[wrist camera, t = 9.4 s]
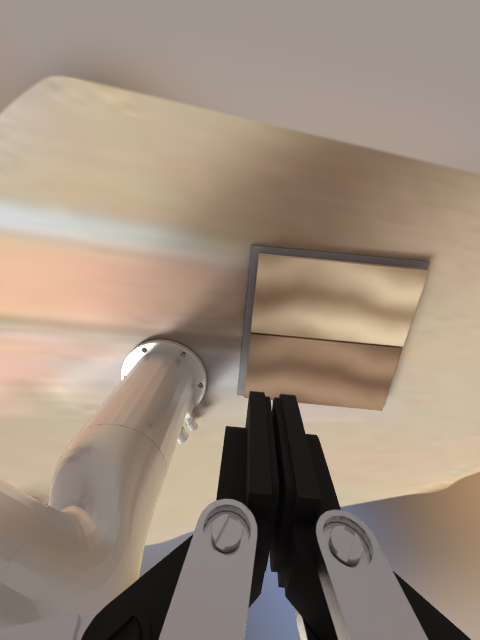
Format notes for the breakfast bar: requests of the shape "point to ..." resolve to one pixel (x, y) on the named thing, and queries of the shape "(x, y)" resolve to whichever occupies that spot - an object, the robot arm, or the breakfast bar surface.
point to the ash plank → (335, 299)
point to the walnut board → (321, 370)
